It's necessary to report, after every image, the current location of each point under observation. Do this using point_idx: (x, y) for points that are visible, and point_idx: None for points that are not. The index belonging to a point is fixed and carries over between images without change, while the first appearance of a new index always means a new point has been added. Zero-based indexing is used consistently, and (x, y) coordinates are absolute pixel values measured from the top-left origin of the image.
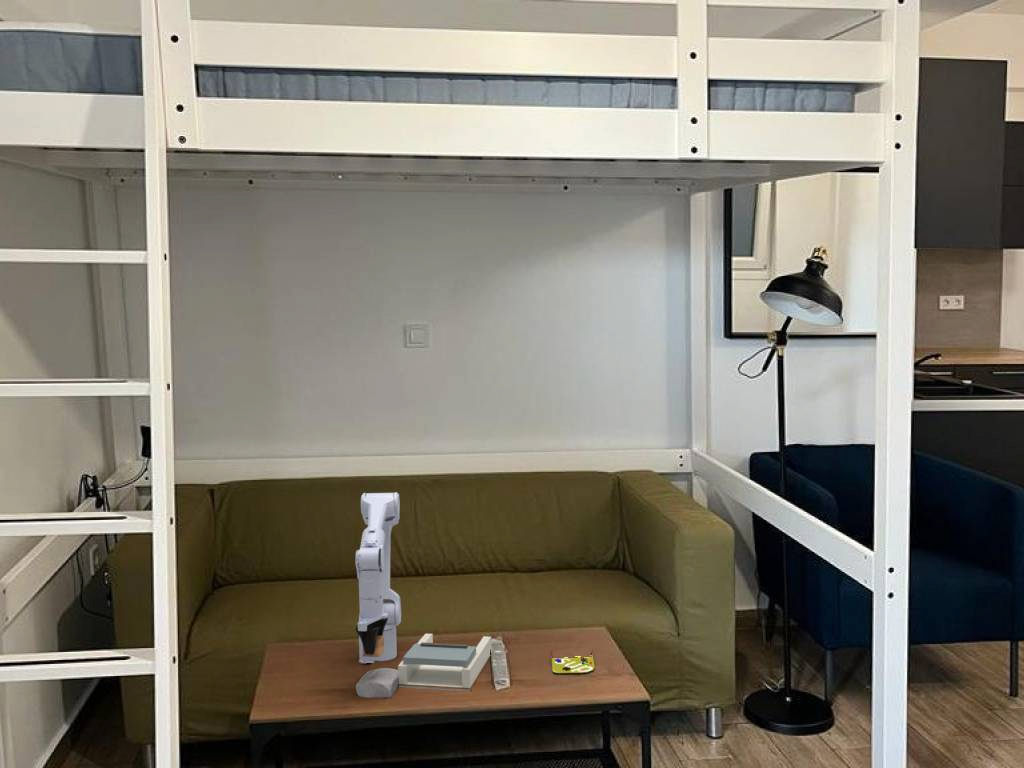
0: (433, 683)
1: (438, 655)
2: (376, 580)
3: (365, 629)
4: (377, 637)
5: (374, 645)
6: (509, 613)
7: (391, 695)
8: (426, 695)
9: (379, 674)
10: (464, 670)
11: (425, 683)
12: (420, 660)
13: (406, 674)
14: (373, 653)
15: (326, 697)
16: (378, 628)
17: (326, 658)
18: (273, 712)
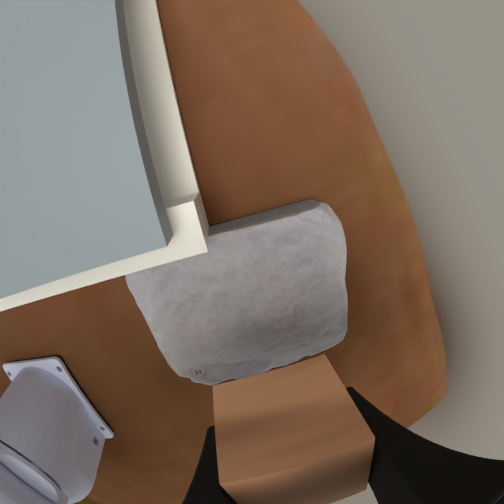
0: (145, 87)
1: (54, 49)
2: None
3: None
4: (284, 487)
5: (390, 418)
6: None
7: (308, 199)
8: (237, 75)
9: (235, 325)
10: None
11: (157, 117)
12: (137, 115)
13: (191, 197)
14: (353, 389)
15: (360, 377)
16: (500, 495)
17: (141, 481)
18: (436, 393)
